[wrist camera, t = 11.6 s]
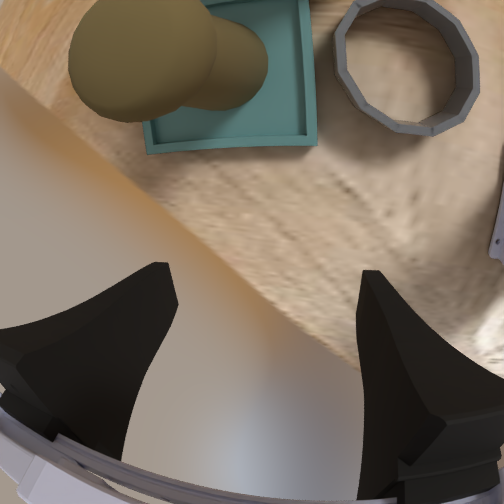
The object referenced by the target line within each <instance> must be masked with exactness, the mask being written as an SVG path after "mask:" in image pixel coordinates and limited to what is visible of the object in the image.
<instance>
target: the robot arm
mask: <svg viewBox="0 0 504 504" xmlns="http://www.w3.org/2000/svg"><path fill="white" fill-rule="evenodd" d="M497 239H498V241H497V242H496V240H497ZM488 254H489V256H490V257H491V258H493V259H499V260H500V261H501V263H502V264H503V265H504V183H503V189H502V195H501V200H500V205H499V210H498V215H497V219H496V224H495V228H494V232H493V236H492V240H491V243H490V247H489V250H488ZM177 308H178V300H177V297H176V292H175V288H174V285H173V280H172V276H171V272H170V268H169V264H168V263H166V262H165V263H164V262H154V263H151V264H149V265H147V266H145V267H143V268H142V269H140V270H138V271H137V272H135V273H133V274H132V275H130V276H129V277H127V278H125V279H123V280H122V281H120V282H118V283H117V284H115V285H114V286H112V287H110V288H108V289H107V290H105V291H103V292H101V293H100V294H98V295H96V296H94V297H93V298H91V299H89V300H87V301H85V302H83V303H81V304H79V305H77V306H75V307H72V308H70V309H68V310H66V311H63V312H61V313H58V314H55V315H53V316H50V317H48V318H45V319H42V320H39V321H35V322H32V323H28V324H24V325H20V326H16V327H11V328H5V329H0V383H1V384H2V385H3V387H4V388H5V389H6V390H5V391H4V393H3V394H2V393H1V392H0V468H1V469H2V470H3V471H4V472H5V473H6V474H7V475H8V476H10V477H11V478H12V479H13V480H14V481H15V482H16V483H17V484H18V487H17V493H18V496H19V497H20V498H22V499H23V500H24V501H25V502H26V503H28V504H148V503H145V502H142V501H139V500H137V499H134V498H131V497H129V496H127V495H124V494H122V493H120V492H118V491H116V490H115V489H114V488H112V487H111V486H109V485H108V484H107V483H106V482H105V481H104V480H103V479H101V478H99V477H97V476H96V475H94V474H97V475H99V476H101V477H103V478H105V479H108V480H110V481H112V482H115V483H117V484H119V485H122V486H124V487H127V488H129V489H132V490H134V491H137V492H140V493H143V494H145V495H148V496H151V497H154V498H157V499H160V500H163V501H167V502H170V503H173V504H504V467H502V468H500V469H498V466H497V461H499V460H500V459H501V456H502V455H501V451H500V447H501V446H502V445H503V443H504V379H503V378H501V377H499V376H497V375H495V374H493V373H492V372H490V371H488V370H487V369H485V368H483V367H482V366H480V365H478V364H477V363H475V362H474V361H472V360H471V359H469V358H468V357H466V356H465V355H463V354H462V353H461V352H459V351H458V350H457V349H455V348H454V347H453V346H451V345H450V344H449V343H448V342H446V341H445V340H444V339H443V338H442V337H441V336H439V335H438V334H437V333H436V332H435V331H434V330H433V329H431V328H430V327H429V326H428V325H427V324H426V323H425V322H424V321H423V320H422V319H421V318H420V317H419V316H418V315H417V314H416V313H415V312H414V310H413V309H412V308H411V307H410V306H409V305H408V304H407V303H406V302H405V300H404V299H403V298H402V297H401V296H400V295H399V293H398V292H397V291H396V290H395V289H394V287H393V286H392V285H391V284H390V283H389V281H388V280H387V279H386V278H385V276H384V275H383V274H382V273H381V272H380V271H379V270H363V272H362V279H361V286H360V293H359V299H358V305H357V311H356V336H357V345H358V352H359V359H360V366H361V373H362V380H363V389H364V436H363V451H362V463H361V472H360V480H359V487H358V494H357V500H356V501H306V500H290V499H278V498H268V497H260V496H252V495H245V494H239V493H233V492H228V491H222V490H217V489H212V488H208V487H203V486H199V485H195V484H191V483H186V482H183V481H179V480H175V479H172V478H168V477H165V476H162V475H158V474H155V473H152V472H149V471H146V470H143V469H140V468H137V467H134V466H132V465H129V464H126V463H124V462H121V458H122V452H123V447H124V441H125V437H126V433H127V429H128V425H129V421H130V417H131V414H132V410H133V407H134V404H135V401H136V398H137V395H138V392H139V390H140V387H141V384H142V381H143V379H144V376H145V374H146V372H147V370H148V367H149V366H150V364H151V362H152V360H153V358H154V356H155V355H156V353H157V351H158V349H159V347H160V345H161V343H162V341H163V340H164V338H165V336H166V334H167V332H168V330H169V328H170V326H171V324H172V321H173V319H174V316H175V313H176V311H177ZM87 470H88V471H90V472H92V473H94V474H92V473H90V472H88V471H87Z"/></svg>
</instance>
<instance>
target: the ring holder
mask: <svg viewBox="0 0 504 504" xmlns="http://www.w3.org/2000/svg"><path fill="white" fill-rule="evenodd" d="M381 6H382V7H389V8H396V9H402V10H408V11H413V12H414V13H416V14H417V15H419V16H420V17H421V18H423V19H424V20H426V21H427V22H428V23H430V24H431V25H433V26H434V27H435V28H437V29H438V30H439V31H440V33H441V35H442V36H443V38H444V40H445V41H446V43H447V45H448V47H449V49H450V50H451V52H452V54H453V56H454V58H455V79H456V88H455V89H454V91H453V93H452V95H451V97H450V98H449V100H448V102H447V104H446V105H445V107H444V109H443V111H441V112H439V113H437V114H435V115H433V116H431V117H428V118H426V119H424V120H422V121H420V122H418V123H416V122H407V121H398V120H392V119H391V118H389V117H388V116H386V115H385V114H383V113H382V112H380V111H379V110H377V109H376V108H374V107H373V106H371V105H370V104H368V103H367V102H366V100H365V98H364V97H363V95H362V93H361V92H360V90H359V88H358V87H357V85H356V83H355V82H354V80H353V79H352V77H351V75H350V74H349V72H348V71H347V59H346V45H345V34H346V32H347V30H348V29H349V27H350V25H351V24H352V22H353V20H354V18H355V17H358V16H360V15H362V14H364V13H367V12H369V11H372V10H374V9H376V8H379V7H381ZM332 45H333V59H334V75H335V76H336V78H337V80H338V81H339V83H340V84H341V86H342V87H343V89H344V91H345V92H346V94H347V95H348V97H349V99H350V100H351V102H352V104H353V105H354V107H355V108H357V109H359V110H360V111H362V112H363V113H365V114H367V115H368V116H370V117H371V118H373V119H374V120H376V121H377V122H379V123H380V124H382V125H383V126H385V127H386V128H388V129H390V130H392V131H394V132H396V133H406V134H416V135H424V136H432V137H434V136H436V135H438V134H440V133H442V132H444V131H446V130H448V129H450V128H452V127H454V126H456V125H458V124H460V123H462V122H464V120H465V119H466V117H467V115H468V113H469V112H470V110H471V108H472V106H473V104H474V102H475V101H476V99H477V97H478V95H479V93H480V72H479V56H478V53H477V51H476V49H475V47H474V46H473V44H472V42H471V40H470V38H469V36H468V34H467V33H466V31H465V29H464V27H463V26H462V24H461V22H460V21H459V19H457V18H456V17H455V16H454V15H452V14H451V13H450V12H448V11H447V10H446V9H444V8H443V7H442V6H440V5H439V4H438V3H436V2H435V1H434V0H355V1H353V3H352V4H351V6H350V8H349V9H348V11H347V13H346V14H345V16H344V18H343V20H342V21H341V23H340V25H339V26H338V28H337V30H336V31H335V34H334V36H333V39H332Z"/></svg>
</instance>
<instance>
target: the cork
mask: <svg viewBox="0 0 504 504" xmlns="http://www.w3.org/2000/svg"><path fill="white" fill-rule="evenodd" d="M68 71H69V74H70V78H71V82H72V86H73V88H74V90H75V91H76V93H77V94H78V96H79V97H80V99H81V100H82V102H84V103H85V104H86V105H87V106H88V107H89V108H91V109H92V110H93V111H94V112H96V113H97V114H98V115H100V116H102V117H105V118H109V119H112V120H116V121H120V122H126V123H129V122H144V121H150V120H153V119H156V118H158V117H161V116H164V115H166V114H169V113H171V112H174V111H176V110H177V109H178V108H179V107H181V106H185V107H191V108H198V109H204V110H210V111H226V110H229V109H233V108H236V107H240V106H241V105H243V104H244V103H246V102H247V101H249V100H250V99H252V98H253V97H254V96H255V95H256V93H257V92H258V91H259V90H260V89H261V87H262V86H263V83H264V81H265V78H266V76H267V73H268V55H267V52H266V48H265V45H264V43H263V42H262V41H261V39H260V38H259V37H258V35H257V34H256V33H255V32H254V31H252V30H251V29H249V28H248V27H246V26H244V25H243V24H240V23H237V22H234V21H230V20H227V19H224V18H220V17H217V16H213V15H211V14H210V12H209V11H208V9H207V8H206V7H205V6H204V5H203V4H202V2H201V1H200V0H98V1H97V2H96V3H95V4H94V5H93V6H92V7H91V8H90V9H89V10H88V11H87V13H86V14H85V15H84V16H83V18H82V19H81V21H80V23H79V25H78V27H77V28H76V30H75V32H74V34H73V38H72V41H71V45H70V49H69V61H68Z"/></svg>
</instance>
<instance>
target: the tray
mask: <svg viewBox="0 0 504 504" xmlns="http://www.w3.org/2000/svg"><path fill="white" fill-rule="evenodd" d="M200 1H201V2H202V4H203V5H204V6H205V7H206V8H207V9H208V11H209V12H210V14H211V15H213V16H217V17H220V18H224V19H227V20H230V21H234V22H237V23H240V24H243V25H244V26H246V27H248V28H249V29H251V30H252V31H254V32H255V33H256V34H257V35H258V37H259V38H260V39H261V41H262V42H263V43H264V45H265V48H266V52H267V55H268V73H267V76H266V78H265V81H264V83H263V86H262V87H261V89H260V90H259V91H258V92H257V93H256V95H255V96H254V97H253V98H252V99H250V100H249V101H247V102H246V103H244V104H243V105H241V106H240V107H236V108H233V109H229V110H226V111H210V110H204V109H198V108H191V107H185V106H181V107H179V108H178V109H177V110H176V111H174V112H171V113H169V114H166V115H164V116H161V117H158V118H156V119H153V120H150V121H144V122H142V124H143V131H144V138H145V145H146V152H147V155H150V154H158V153H167V152H177V151H188V150H200V149H213V148H229V147H251V146H317V111H316V88H315V70H314V55H313V42H312V30H311V19H310V9H309V0H200Z"/></svg>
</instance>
